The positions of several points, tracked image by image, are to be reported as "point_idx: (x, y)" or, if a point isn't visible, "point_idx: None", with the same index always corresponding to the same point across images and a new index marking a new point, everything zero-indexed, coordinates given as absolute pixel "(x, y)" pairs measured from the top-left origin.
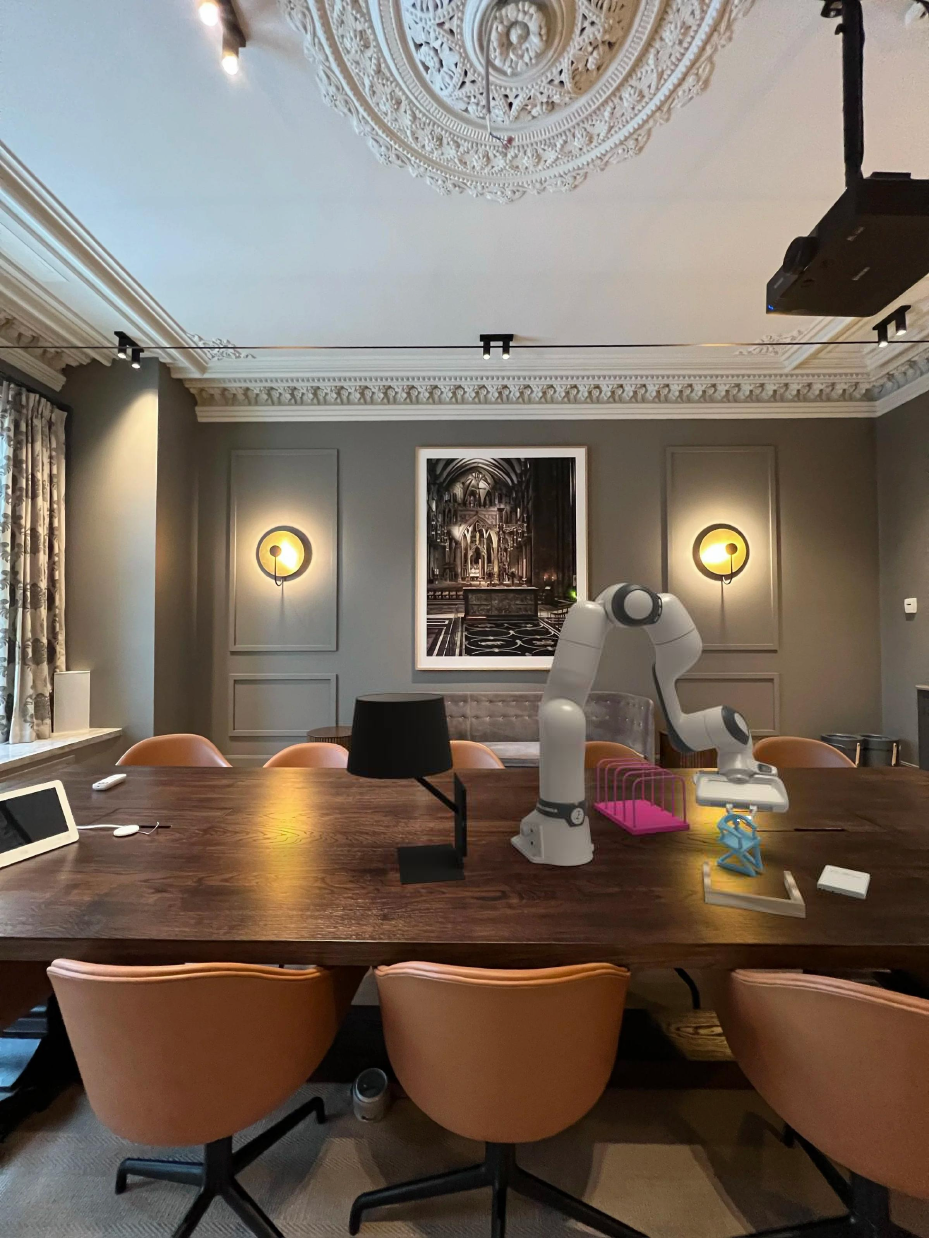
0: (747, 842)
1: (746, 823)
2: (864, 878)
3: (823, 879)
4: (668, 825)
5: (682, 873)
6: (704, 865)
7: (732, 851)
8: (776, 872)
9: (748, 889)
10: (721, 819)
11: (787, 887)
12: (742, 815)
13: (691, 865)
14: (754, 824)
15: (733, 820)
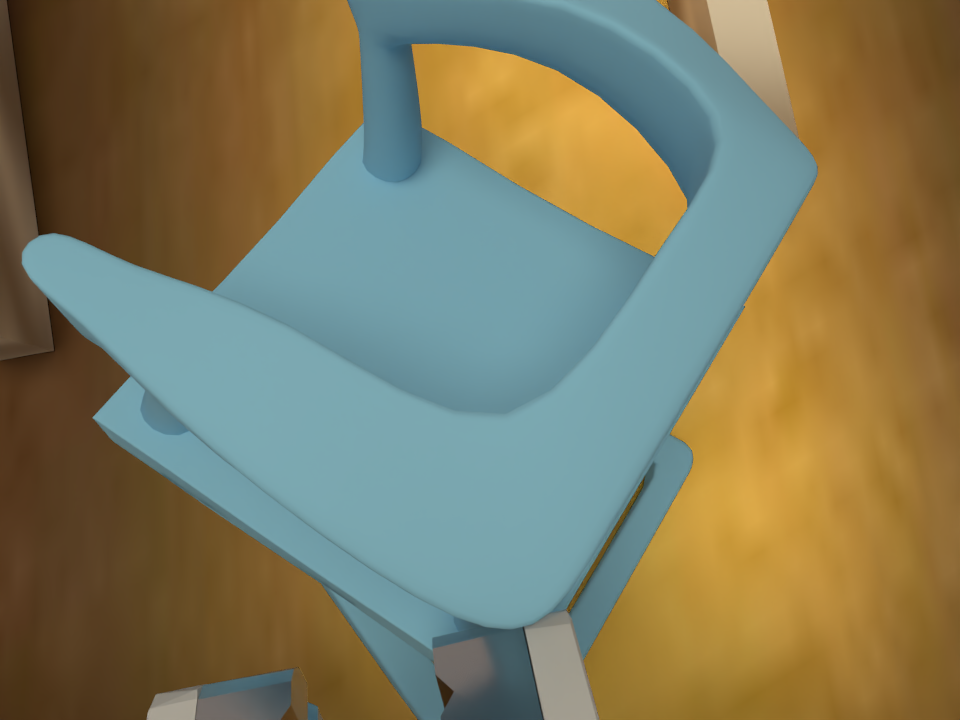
0: (307, 297)
1: (299, 670)
2: None
3: None
4: None
5: (931, 78)
6: (765, 55)
7: None
8: (123, 588)
9: (342, 22)
10: (769, 183)
11: (12, 149)
12: (306, 384)
13: (905, 327)
14: (76, 285)
15: (555, 625)
